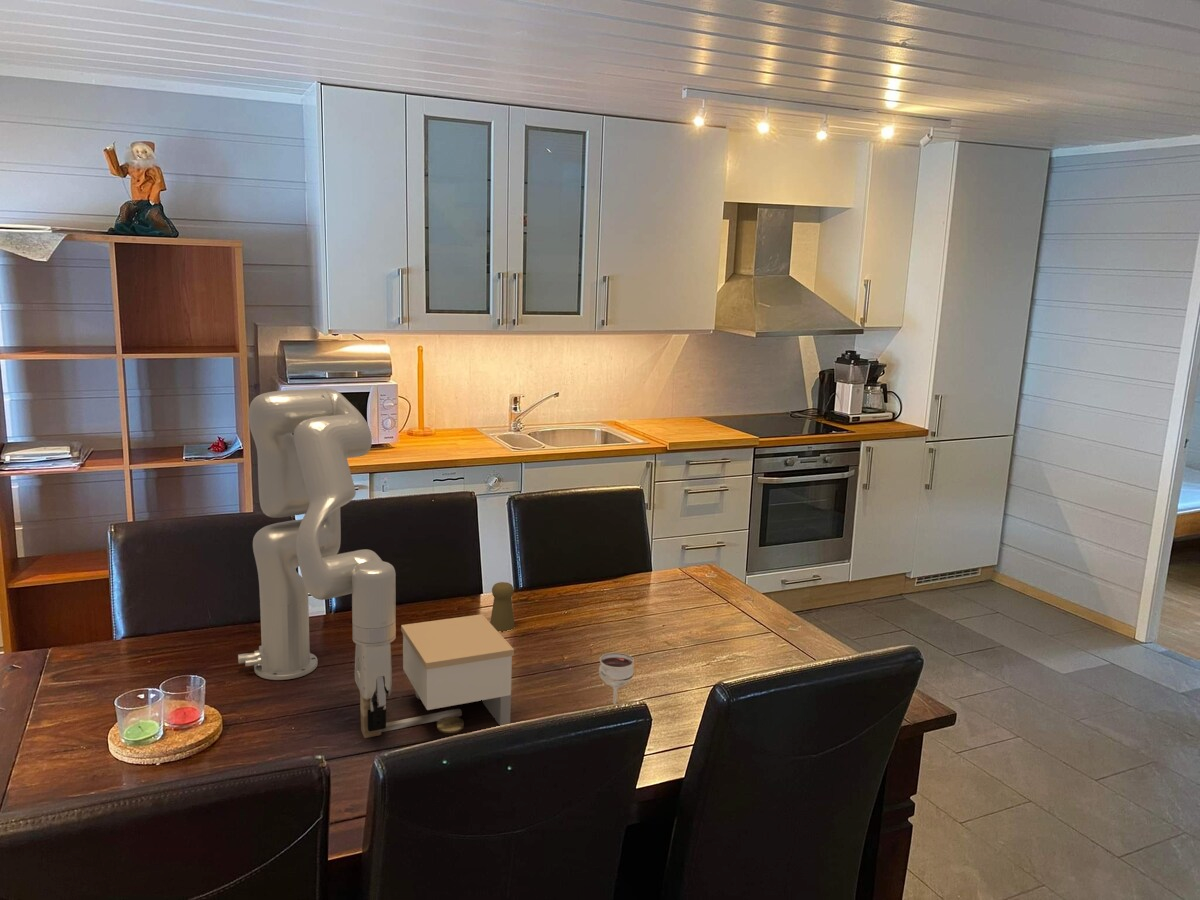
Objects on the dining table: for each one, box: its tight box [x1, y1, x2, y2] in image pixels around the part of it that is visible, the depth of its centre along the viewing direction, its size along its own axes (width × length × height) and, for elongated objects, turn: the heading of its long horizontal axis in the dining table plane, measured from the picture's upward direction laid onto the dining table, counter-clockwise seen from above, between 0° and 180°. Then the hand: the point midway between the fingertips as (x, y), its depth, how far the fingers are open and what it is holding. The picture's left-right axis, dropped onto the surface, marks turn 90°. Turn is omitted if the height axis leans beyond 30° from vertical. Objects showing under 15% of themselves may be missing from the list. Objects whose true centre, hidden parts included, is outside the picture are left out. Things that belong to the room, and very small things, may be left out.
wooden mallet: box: [359, 692, 463, 739], centre depth 163 cm, size 18×3×8 cm, turn 116°
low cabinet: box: [400, 613, 515, 726], centre depth 168 cm, size 17×19×15 cm
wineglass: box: [598, 652, 635, 705], centre depth 168 cm, size 7×7×12 cm
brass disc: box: [436, 717, 465, 734], centre depth 164 cm, size 5×5×1 cm
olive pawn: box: [489, 581, 516, 631], centre depth 210 cm, size 6×6×11 cm
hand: (374, 723), depth 160 cm, fingers closed on wooden mallet, 2 cm apart
